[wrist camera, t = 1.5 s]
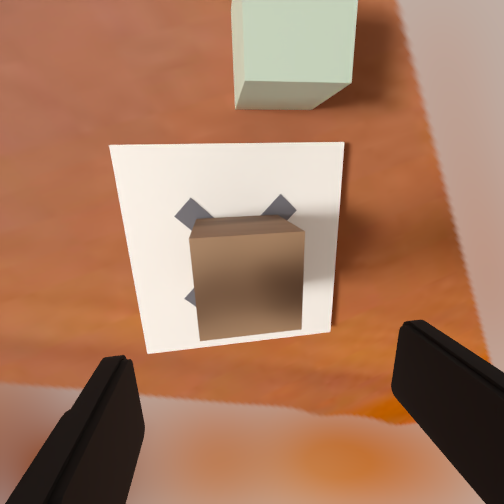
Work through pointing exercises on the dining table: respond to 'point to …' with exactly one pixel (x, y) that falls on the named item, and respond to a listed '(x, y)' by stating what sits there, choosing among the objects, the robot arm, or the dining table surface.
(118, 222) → the dining table surface
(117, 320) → the dining table surface
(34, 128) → the dining table surface
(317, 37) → the sage green cube
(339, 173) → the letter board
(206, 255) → the walnut block
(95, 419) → the robot arm
